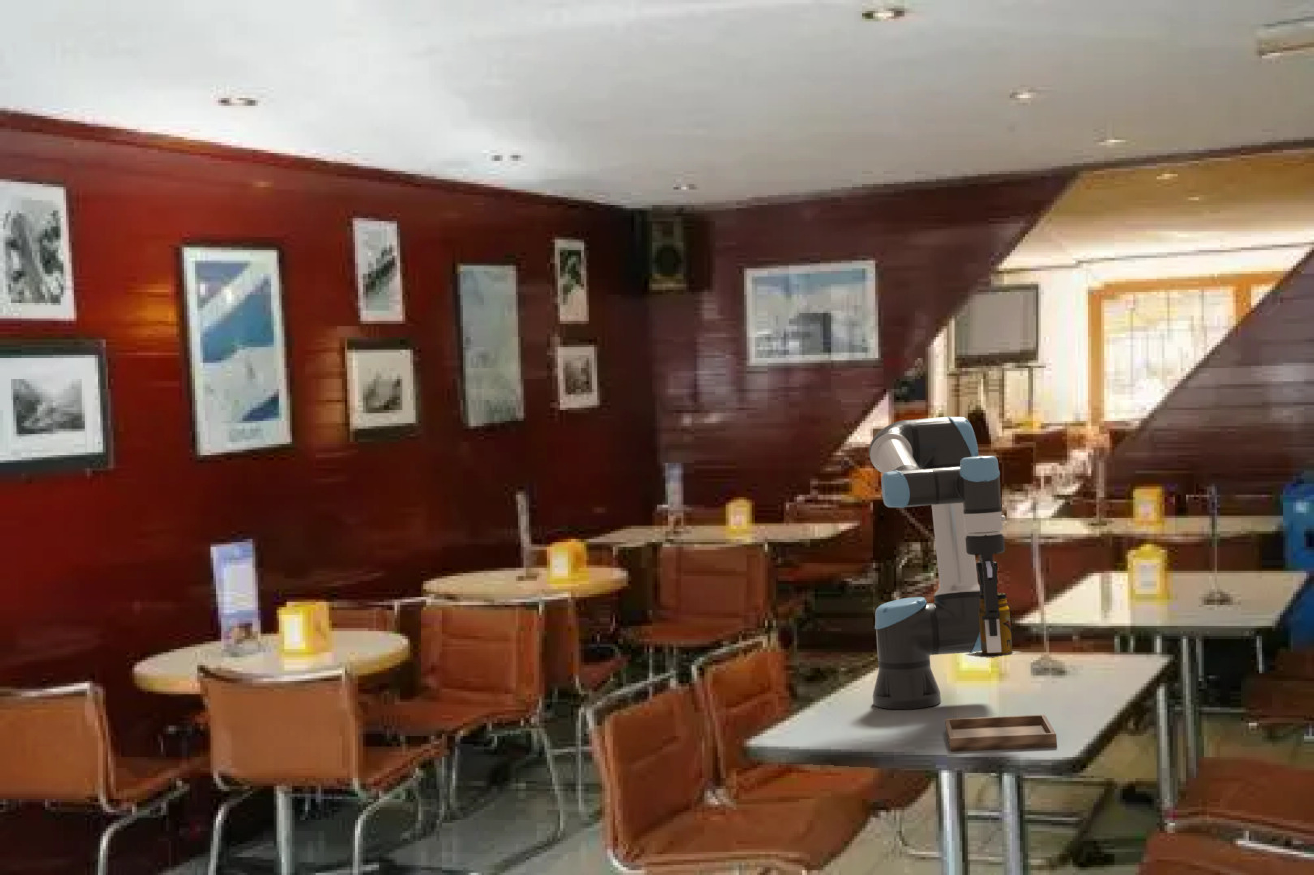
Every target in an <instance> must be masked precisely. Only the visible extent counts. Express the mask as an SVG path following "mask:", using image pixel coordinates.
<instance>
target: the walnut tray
mask: <svg viewBox="0 0 1314 875" xmlns="http://www.w3.org/2000/svg"><path fill="white" fill-rule="evenodd" d="M944 722H945V723H944V725H945V733H946V738H947V742H948V745H949V749H950V752H963V751H964V752H966V751H967V752H968V751H985V750H987V751H989V750H992V751H994V750H1013V749H1037V748H1039V749H1040V748H1057V747H1058V741H1057V738H1058V737H1057V733H1056V730H1055V729H1054V728H1053V726H1052V724H1051V723H1050V721H1049V719H1048V717H1047V716H1046V715H1045V714H1031V715H1008V716H986V717H985V716H983V717H982V716H981V717H965V718H962V717H961V718H944Z"/></svg>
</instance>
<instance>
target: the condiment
mask: <svg viewBox="0 0 1314 875" xmlns="http://www.w3.org/2000/svg"><path fill="white" fill-rule="evenodd" d="M979 598H980V607H979V610H978V611H979V625H980V639H981V650H982V651H979V652H973V653H964V654H965V655H966V656H971V657H978V658H988V659H989V658H991V659H995V658H998V657H1003V656H1005V657H1006V656H1011V655H1015V654H1020V653H1022V651H1017V650H1015V651H1012V650H1013V642H1012V640H1013V639H1012V629H1011V628H1012V626H1011V616H1010V615H1011V614H1010V613H1011V612H1010V607H1009V606H1008V601H1007V594H1006V593H1004V592H998V604H999V613H1000V616H999V624H1000V638H1001V651H1002V652H996V653H987V642H986V629H985V620H982V616H985V605H984V594H981V595H980V597H979Z"/></svg>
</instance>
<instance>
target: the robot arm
mask: <svg viewBox="0 0 1314 875" xmlns="http://www.w3.org/2000/svg"><path fill="white" fill-rule="evenodd" d="M978 447H979V446H978V442H977V438H976V434H975V431H974V429H973V426H972V424H971V422H970V421H969V420H968V419H967V417H966V418H965V416H964V417H963V416H949V415H947V416H941V417H932V418H931V417H930V418H929V417H928V418H919V419H902V420H898V421H896V422H893V423H890V424H889V425H887V426H885V427H883V428H882V429H880V430H879V431H878V432H877V433H876V434H875V435H874V436H873V438H872V440H871V441H870V444H869V448H868V449H869V450H868V456H869V459H870V461H871V464H872V465H873V467H874V468H875V469H876V470H877V471H878V472H880V473H881V474H882V475H881V497H882V500H883V501H882V502H883V504H884V506H886V507H887V508H899V509H903V508H911V507H921V506H923V507H924V506H931V510H932V512H931V513H932V522H933V523H932V524H933V533H934V534H933V535H934V541H935V543H934V544H935V550H936V552H935V553H936V561H937V562H936V563H937V569H938V570H937V571H938V582H939V583H938V584H939V587H938V589H937V590H936V591H935V593H934V594H933V598H934V599H933V600H934V601H933V602H927V600H926V598H925V597H923V596H916V597H906V598H899V599H895V600H892V601H888V602H885V603H882V604H880V605H879V606H878V607H877V608H876V609H875V614H874V617H875V618H874V619H875V621H874V622H875V623H874V624H875V625H874V629H875V630H876V631H875V632H876V633H875V634H876V649H877V651H876V652H877V664H878V665H877V666H878V672H877V675H876V681H875V684H874V688H873V691H872V702H873V705H874V707H877V708H881V709H887V710H888V709H889V710H890V709H891V710H912V709H923V708H927V707H928V708H929V707H932V706H933V707H934V706H936V705H938V704H940V703H941V701H942V700H941V699H942V698H941V691H940V688H939V685H938V683H937V681H936V678H935V675H934V674H933V670H932V668H931V666H932V665H931V656H934V655H935V656H936V655H938V656H939V655H951V654H952V655H953V654H972V653H976V652H982V650H981V639H980V625H979V611H978V610H979V607H980V598H979V597H980V595H981V594H984V605H985V616H982V620H985V629H986V642H987V653H996V652H1002V651H1001V638H1000V624H999V616H1000V613H999V604H998V593H999V592H998V582H999V579H998V570H999V567H998V562H997V561H994V555H995V554H997V555H998V554H1002V553H1004V552H1005V550H1006V546H1005V536H1004V534H1003V533H1001V532H1003V530H1004V526H1003V525H1004V524H1003V522H1004V521H1006V516H1005V515H1002V514H1003V511H1002V510H1003V509H1002V497H1001V482H1000V481H1001V480H1000V475H1001V471H1000V470H999V468H1000V467H999V461H998V458H997V457H996V456H994V455H981V456H979V448H978ZM1002 521H1003V522H1002ZM976 556H978V561H976Z"/></svg>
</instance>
